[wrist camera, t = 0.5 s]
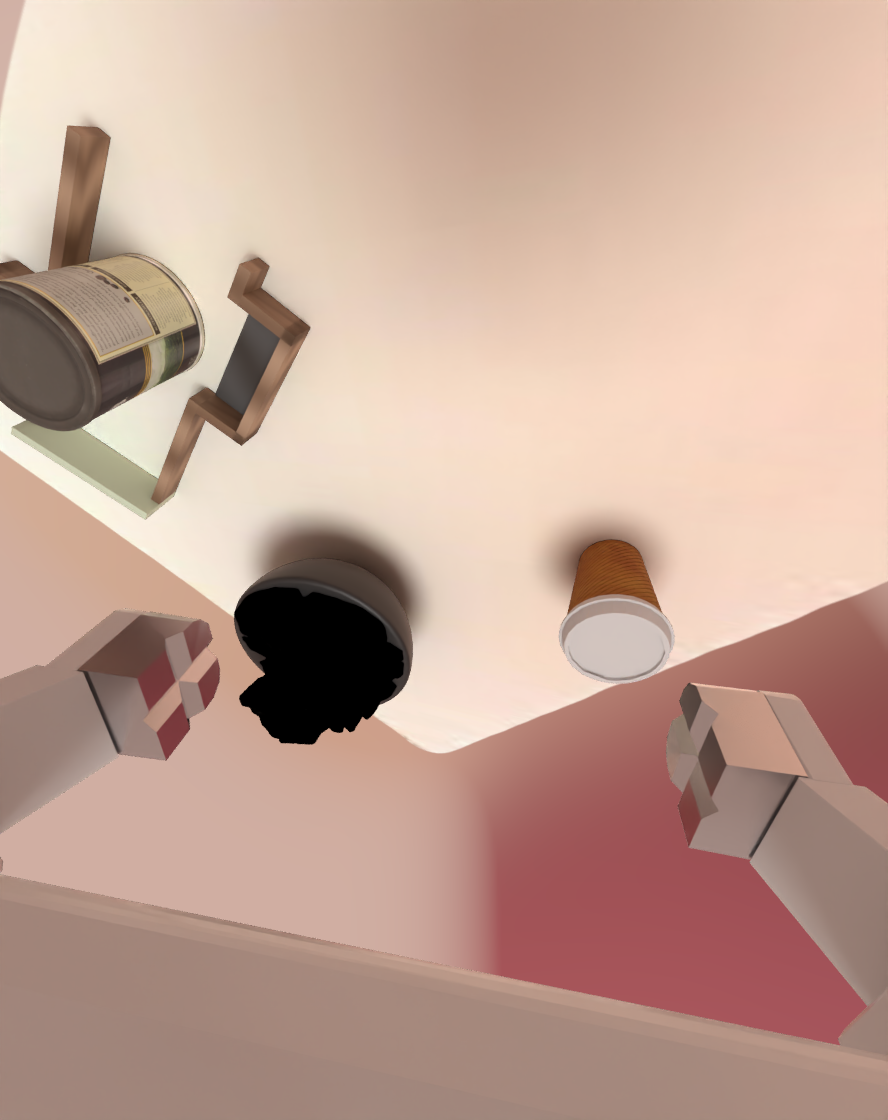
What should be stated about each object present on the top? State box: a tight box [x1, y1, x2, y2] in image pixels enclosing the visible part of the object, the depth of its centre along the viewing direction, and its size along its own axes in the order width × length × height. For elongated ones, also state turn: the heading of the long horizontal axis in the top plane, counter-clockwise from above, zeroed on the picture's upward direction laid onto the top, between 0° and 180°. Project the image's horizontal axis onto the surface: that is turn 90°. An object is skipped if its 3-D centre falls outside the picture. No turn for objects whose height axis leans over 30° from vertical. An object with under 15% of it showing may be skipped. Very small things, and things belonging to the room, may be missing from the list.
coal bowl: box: [234, 558, 413, 744], centre depth 56 cm, size 20×20×19 cm
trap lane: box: [0, 126, 310, 504], centre depth 48 cm, size 29×25×3 cm
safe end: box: [11, 420, 176, 520], centre depth 56 cm, size 1×15×5 cm, turn 54°
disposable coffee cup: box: [559, 540, 674, 683], centre depth 48 cm, size 10×10×12 cm
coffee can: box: [0, 253, 205, 431], centre depth 42 cm, size 10×10×14 cm
